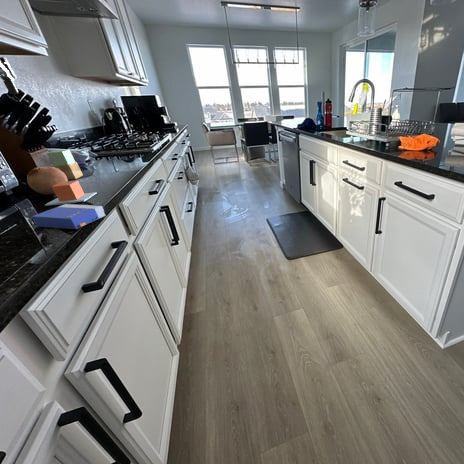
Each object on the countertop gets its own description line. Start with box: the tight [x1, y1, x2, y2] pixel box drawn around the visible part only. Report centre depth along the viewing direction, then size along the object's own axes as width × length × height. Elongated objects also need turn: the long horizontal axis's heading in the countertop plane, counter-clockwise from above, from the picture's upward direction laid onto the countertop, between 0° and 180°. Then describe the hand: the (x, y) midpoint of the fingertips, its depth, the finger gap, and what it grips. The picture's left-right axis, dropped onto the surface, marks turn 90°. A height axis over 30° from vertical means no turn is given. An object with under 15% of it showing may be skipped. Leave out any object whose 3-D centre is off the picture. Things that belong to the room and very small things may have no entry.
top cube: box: [52, 180, 85, 201], centre depth 76 cm, size 5×5×5 cm
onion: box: [26, 166, 69, 196], centre depth 82 cm, size 10×9×10 cm
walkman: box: [31, 203, 106, 230], centre depth 62 cm, size 8×3×12 cm
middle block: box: [46, 149, 76, 166], centre depth 98 cm, size 5×5×5 cm
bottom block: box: [51, 161, 84, 181], centre depth 101 cm, size 6×6×6 cm
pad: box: [44, 191, 98, 207], centre depth 78 cm, size 10×8×1 cm
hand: (4, 93), depth 81 cm, fingers open, 8 cm apart
